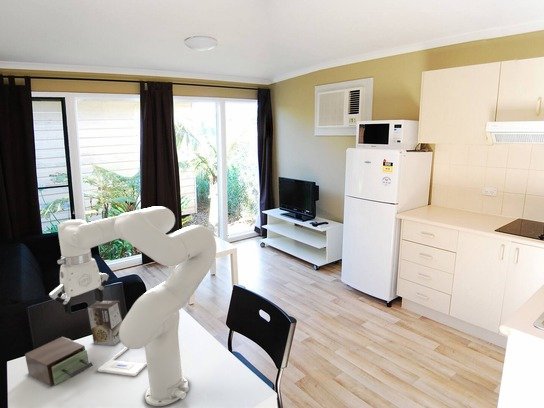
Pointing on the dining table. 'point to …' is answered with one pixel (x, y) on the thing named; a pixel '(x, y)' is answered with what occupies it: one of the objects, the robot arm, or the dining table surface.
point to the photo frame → (122, 366)
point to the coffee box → (105, 322)
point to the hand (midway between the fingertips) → (84, 306)
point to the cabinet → (50, 358)
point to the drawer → (70, 366)
